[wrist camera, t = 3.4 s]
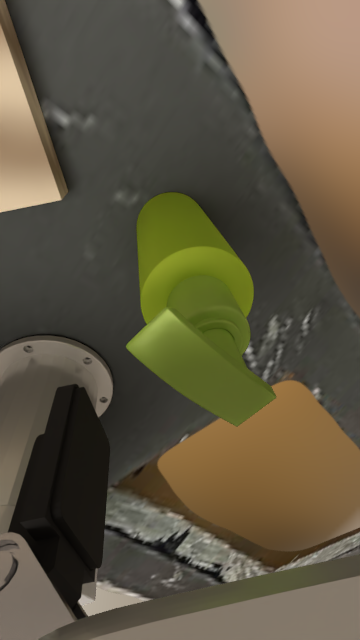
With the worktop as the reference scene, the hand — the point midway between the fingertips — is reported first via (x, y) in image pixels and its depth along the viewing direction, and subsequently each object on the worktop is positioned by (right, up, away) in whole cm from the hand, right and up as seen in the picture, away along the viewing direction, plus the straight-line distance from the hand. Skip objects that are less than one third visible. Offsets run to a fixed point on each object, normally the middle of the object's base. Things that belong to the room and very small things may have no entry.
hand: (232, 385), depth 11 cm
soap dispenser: (-3, +10, +17) cm, 20 cm away
